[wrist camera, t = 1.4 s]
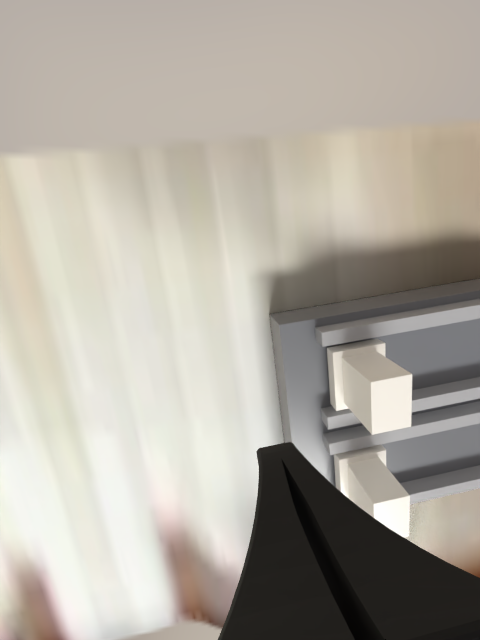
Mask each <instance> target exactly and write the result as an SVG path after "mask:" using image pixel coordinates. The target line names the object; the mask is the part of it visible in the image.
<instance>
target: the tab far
mask: <svg viewBox="0 0 480 640" xmlns="http://www.w3.org/2000/svg"><path fill="white" fill-rule="evenodd" d="M334 466H335V482H336V488H337V489H338V490H339V491H340V492H342V493H343V494H344V495H345V496H346V497H347V498H349V499H350V500H351V501H352V502H354V503H355V504H356V505H357V506H359V507H360V508H361V509H363V510H364V511H365V512H367V513H368V514H369V515H371V516H372V517H373V518H375V519H376V520H378V521H379V522H380V523H382V524H383V525H385V526H386V527H388V528H389V529H391V530H392V531H394V532H395V533H397V534H399V535H400V536H402V537H404V538H405V537H409V517H410V495H409V494H408V493H407V492H406V490H405V489H404V488H403V487H402V485H401V484H400V483H399V482H398V481H397V479H396V478H395V477H394V476H393V474H392V473H391V472H390V471H389V469H388V468H387V467H386V449H385V448H384V447H383V446H382V445H376V446H371V447H366V448H362V449H357V450H352V451H348V452H343V453H338V454H334Z"/></svg>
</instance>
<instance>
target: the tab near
mask: <svg viewBox="0 0 480 640" xmlns="http://www.w3.org/2000/svg"><path fill="white" fill-rule="evenodd" d="M327 358H328V373H329V389H330V404H331V405H332V406H333V408H334V409H335V410H336V411H339V410H344V409H350V410H351V411H352V413H353V414H354V415H355V416H356V417H357V418H358V419H359V421H360V422H361V423H362V424H363V425H364V426H365V427H366V429H367V430H368V431H369V432H370V433H371V434H372V435H374V434H379V433H383V432H388V431H393V430H398V429H402V428H407V427H411V414H412V374H411V373H410V372H408V371H407V370H405V369H403V368H402V367H400V366H399V365H397V364H396V363H394V362H392V361H391V360H389V359H388V358H386V357H385V343H384V342H383V341H381V340H379V339H372V340H366V341H361V342H355V343H350V344H344V345H339V346H333V347H328V348H327Z"/></svg>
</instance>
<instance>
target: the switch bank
mask: <svg viewBox="0 0 480 640" xmlns="http://www.w3.org/2000/svg"><path fill="white" fill-rule="evenodd" d="M269 316H270V324H271V333H272V341H273V350H274V358H275V367H276V375H277V384H278V393H279V401H280V410H281V418H282V427H283V435H284V443H287V442H291V443H293V444H294V445H295V446H296V448H297V449H298V450H299V451H300V452H301V453H302V454H303V456H304V457H305V458H306V459H307V460H308V461H309V462H310V463H311V464H312V465H313V466H314V467H315V468H316V469H317V470H318V471H319V472H320V473H321V474H322V475H323V476H324V477H325V478H326V479H327V480H328V481H329V482H330V483H331V484H333V485H334V486H335V487H336V482H335V466H334V454H338V453H343V452H348V451H352V450H357V449H362V448H366V447H371V446H376V445H382V446H383V447H384V448H385V449H386V467H387V468H388V469H389V471H390V472H391V473H392V474H393V476H394V477H395V478H396V479H397V481H398V482H399V483H400V484H401V485H402V487H403V488H404V489H405V490H406V492H407V493H408V494H409V495H410V504H414V503H418V502H423V501H427V500H431V499H436V498H440V497H444V496H448V495H453V494H457V493H461V492H466V491H470V490H474V489H479V488H480V279H474V280H468V281H462V282H456V283H450V284H444V285H438V286H432V287H427V288H421V289H415V290H409V291H403V292H397V293H391V294H385V295H379V296H373V297H368V298H362V299H356V300H350V301H344V302H338V303H332V304H326V305H320V306H315V307H309V308H303V309H297V310H291V311H285V312H279V313H273V314H269ZM372 339H379V340H381V341H383V342H384V343H385V357H386V358H388V359H389V360H391V361H392V362H394V363H396V364H397V365H399V366H400V367H402V368H403V369H405V370H407V371H408V372H410V373H411V374H412V414H411V427H407V428H402V429H398V430H393V431H388V432H383V433H379V434H374V435H372V434H371V433H370V432H369V431H368V430H367V429H366V427H365V426H364V425H363V424H362V423H361V422H360V421H359V419H358V418H357V417H356V416H355V415H354V414H353V413H352V411H351V410H350V409H344V410H339V411H336V410H335V409H334V408H333V406H332V405H331V404H330V389H329V373H328V358H327V348H328V347H333V346H339V345H344V344H350V343H355V342H361V341H366V340H372Z"/></svg>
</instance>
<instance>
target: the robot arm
mask: <svg viewBox="0 0 480 640" xmlns="http://www.w3.org/2000/svg"><path fill="white" fill-rule="evenodd" d="M257 458H258V464H259V484H258V497H257V505H256V512H255V519H254V524H253V529H252V534H251V539H250V543H249V548H248V551H247V555H246V559H245V563H244V567H243V570H242V574H241V577H240V580H239V583H238V586H237V589H236V592H235V595H234V598H233V601H232V604H231V607H230V610H229V613H228V616H227V618H226V621H225V623H224V626H223V628H222V631H221V633H220V636H219V638H218V640H480V578H478V577H476V576H474V575H472V574H470V573H468V572H466V571H464V570H462V569H460V568H458V567H456V566H453V565H451V564H449V563H447V562H445V561H443V560H442V559H440V558H438V557H436V556H434V555H432V554H431V553H429V552H427V551H425V550H423V549H422V548H420V547H418V546H417V545H415V544H413V543H412V542H410V541H408V540H407V539H405V538H404V537H402V536H400V535H399V534H397V533H395V532H394V531H392V530H391V529H389V528H388V527H386V526H385V525H383V524H382V523H380V522H379V521H378V520H376V519H375V518H373V517H372V516H371V515H369V514H368V513H367V512H365V511H364V510H363V509H361V508H360V507H359V506H357V505H356V504H355V503H354V502H352V501H351V500H350V499H349V498H347V497H346V496H345V495H344V494H343V493H342V492H340V491H339V490H338V489H337V488H336V487H335V486H334V485H333V484H331V483H330V482H329V481H328V480H327V479H326V478H325V477H324V476H323V475H322V474H321V473H320V472H319V471H318V470H317V469H316V468H315V467H314V466H313V465H312V464H311V463H310V462H309V461H308V460H307V459H306V458H305V457H304V456H303V454H302V453H301V452H300V451H299V450H298V449H297V448H296V446H295V445H294V444H293V443H291V442H287V443H282V444H277V445H273V446H268V447H263V448H259V449H258V450H257Z"/></svg>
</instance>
